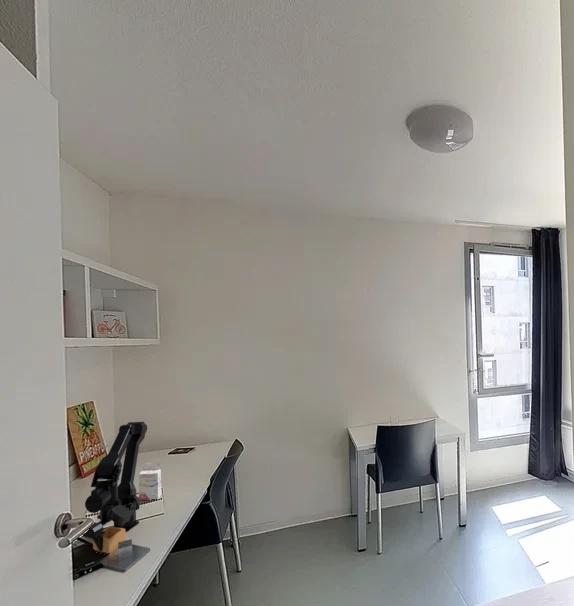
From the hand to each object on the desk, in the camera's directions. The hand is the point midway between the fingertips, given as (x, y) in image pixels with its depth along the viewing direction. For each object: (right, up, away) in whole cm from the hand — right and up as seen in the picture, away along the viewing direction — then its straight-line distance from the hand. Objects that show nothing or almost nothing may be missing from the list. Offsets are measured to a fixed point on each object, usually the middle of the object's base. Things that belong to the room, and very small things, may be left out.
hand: (109, 544), depth 131 cm
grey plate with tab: (+8, 0, -6) cm, 10 cm away
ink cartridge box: (+1, -3, +37) cm, 37 cm away
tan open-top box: (-1, -1, 0) cm, 2 cm away
